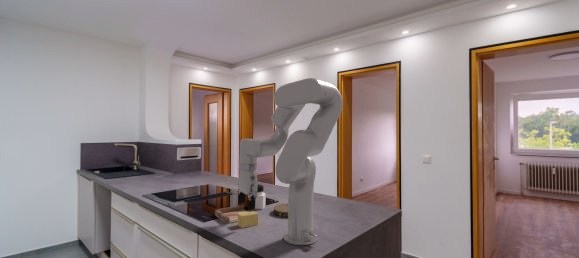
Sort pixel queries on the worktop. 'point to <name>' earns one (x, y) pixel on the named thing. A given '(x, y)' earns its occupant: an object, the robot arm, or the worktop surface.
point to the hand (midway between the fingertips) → (246, 206)
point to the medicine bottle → (260, 197)
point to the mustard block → (247, 219)
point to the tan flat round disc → (281, 210)
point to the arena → (229, 213)
